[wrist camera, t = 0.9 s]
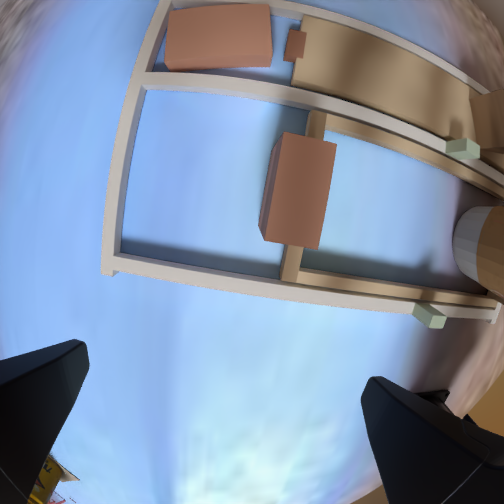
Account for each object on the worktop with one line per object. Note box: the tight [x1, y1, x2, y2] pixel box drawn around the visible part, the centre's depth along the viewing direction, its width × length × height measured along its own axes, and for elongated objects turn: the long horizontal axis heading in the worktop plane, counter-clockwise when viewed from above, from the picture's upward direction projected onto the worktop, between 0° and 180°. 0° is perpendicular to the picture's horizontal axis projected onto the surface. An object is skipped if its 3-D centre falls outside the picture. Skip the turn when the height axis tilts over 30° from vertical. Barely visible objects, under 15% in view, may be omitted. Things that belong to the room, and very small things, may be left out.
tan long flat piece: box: [283, 15, 504, 174], centre depth 16 cm, size 25×6×1 cm, turn 80°
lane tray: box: [101, 0, 504, 329], centre depth 16 cm, size 37×23×4 cm, turn 80°
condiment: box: [27, 455, 79, 504], centre depth 20 cm, size 7×8×12 cm
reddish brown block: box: [164, 4, 273, 73], centre depth 15 cm, size 7×5×2 cm
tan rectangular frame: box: [258, 110, 504, 308], centre depth 16 cm, size 25×11×6 cm, turn 80°
